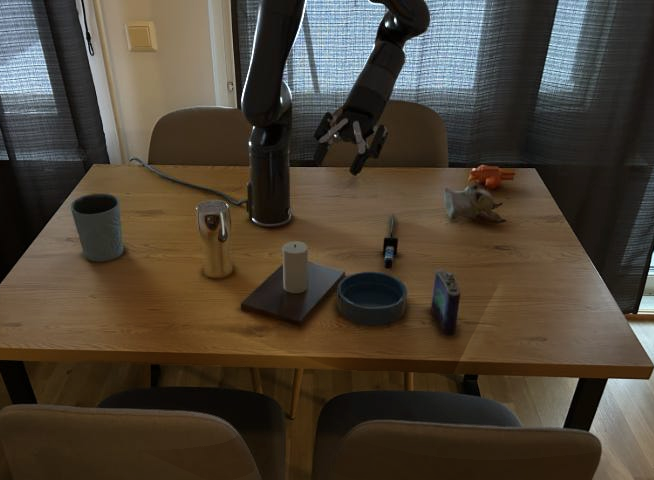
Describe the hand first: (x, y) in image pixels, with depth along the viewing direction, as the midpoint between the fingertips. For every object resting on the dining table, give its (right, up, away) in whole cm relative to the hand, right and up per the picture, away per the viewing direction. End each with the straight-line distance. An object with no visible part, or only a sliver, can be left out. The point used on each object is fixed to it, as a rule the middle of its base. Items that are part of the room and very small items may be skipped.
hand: (334, 168), depth 125 cm
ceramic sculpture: (+35, -5, +32) cm, 47 cm away
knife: (+14, -14, +20) cm, 28 cm away
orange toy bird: (+44, +5, +47) cm, 65 cm away
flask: (+20, -30, -4) cm, 36 cm away
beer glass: (-24, -19, +12) cm, 33 cm away
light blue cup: (-50, -15, +19) cm, 56 cm away
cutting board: (-8, -24, +5) cm, 26 cm away
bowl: (+7, -27, 0) cm, 28 cm away
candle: (-8, -23, +4) cm, 24 cm away
